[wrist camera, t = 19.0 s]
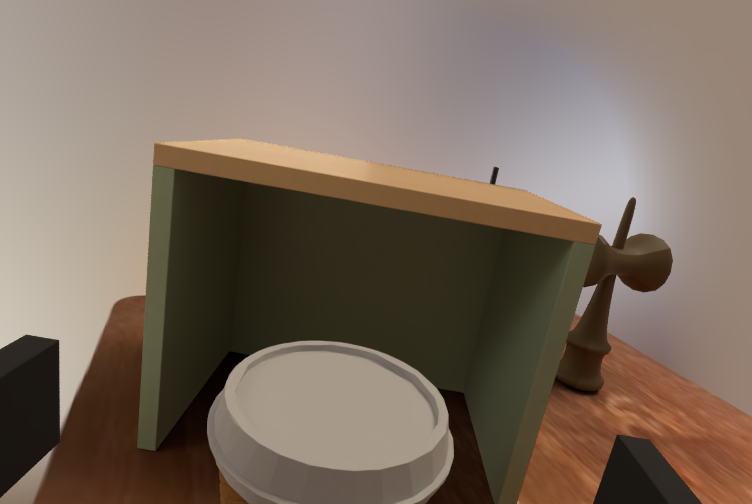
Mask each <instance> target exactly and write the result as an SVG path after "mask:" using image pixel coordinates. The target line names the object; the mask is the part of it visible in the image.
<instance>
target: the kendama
mask: <svg viewBox="0 0 752 504" xmlns="http://www.w3.org/2000/svg"><path fill="white" fill-rule="evenodd" d="M635 205H636V199H635V198H634V197H633V198H631V199H630V200H629V202H628V204H627V206H626V209H625V211H624V214H623V217H622V220H621V222H620V225H619V228H618V231H617V234H616V237H615V239H614V242H613V245H612V246H610V245H609V244H608V243H607V241H606V240H605V239H604V238H603V237H602V236H601V235H598V239H597V242H596V245H595V248H594V252H593V255H592V258H591V262H590V265H589V268H588V271H587V275H586V278H585V281H584V285H583V287H588V286H593V285H596V284H597V283H598V285H597V287H596V289H595V291H594V294H593V296H592V298H591V300H590V302H589V304H588V306H587V308H586V310H585V312H584V314H583V316H582V318H581V319H580V321H579V323H578V324H577V326H576V327H575V328H574V330H572V331H570V332H569V334H568V337H567V340H566V343H567V346H566V350H565V353H564V355H563V358H562V359H561V360H560V363H559V366H558V370H557V373H556V376H555V377H556V378H558V379H559V380H560V381H561V382H563V383H565V384H566V385H569V386H571V387H573V388H576V389H580V390H584V391H595V390H599V389H601V388H602V386H603V384H604V381H603V379H602V377H601V374H600V369H601V363H602V359H603V357H604V356H605V355H606V354H608V353H609V352H610V350H611V346H610V345H609V343H608V341H607V324H608V316H609V309H610V303H611V298H612V293H613V288H614V283H615V279H616V275H618V277H619V278H620V279H621V281H622V282H623V283H624V284H625V285H627V286H628V287H630V288H631V289H633V290H636V291H641V292H649V291H655V290H657V289H658V288H659V287H661V286H662V285H663V284H664V283H665V282H666V280H667V278H668V276H669V275H670V272H671V267H672V262H673V260H672V254H671V249H670V248H669V247H668V245H667V244H666V243H665V242H664V240H662V239H660V238H658V237H656V236H654V235H650V234H637V235H634V236H631V237H629V238H628V239H627V240H626V238H627V235H628V232H629V228H630V224H631V221H632V217H633V213H634V209H635Z"/></svg>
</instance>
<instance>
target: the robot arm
mask: <svg viewBox="0 0 752 504" xmlns="http://www.w3.org/2000/svg"><path fill="white" fill-rule="evenodd" d="M59 402H60V399H59V340H55V339H49V338H43V337H37V336H31V335H25V336H23V337H21V338H19V339H18V340H16V341H14V342H12V343H10V344H9V345H7V346H5V347H3V348H2V349H0V498H1V497H2V496H3V495H4V494H5V493H6V492H7V491H8V490H9V489H10V488H11V487H12V486H13V485H14V484H15V483H17V482H18V481H19V480H20V479H21V478H22V477H23V476H24V475H25V474H26V473H27V472H28V471H29V470H30V469H31V468H32V467H34V466H35V465H36V464H37V463H38V462H39V461H40V460H41V459H42V458H43V457H44V456H45V455H46V454H47V453H48V452H49V451H51V450H52V449H53V448H54V447H55V446H56V445H57V444H58V443H59V442H60V414H59V413H60V409H59V408H60V404H59ZM593 504H702V503H701V502H700V500H699V499H698V498H697V497H696V496H695V494H694V493H693V492H692V491H691V490H690V488H689V487H688V486H687V485H686V484H685V482H684V481H683V480H682V479H681V477H680V476H679V475H678V474H677V473H676V471H675V470H674V469H673V468H672V467H671V465H670V464H669V463H668V462H667V460H666V459H665V458H664V457H663V456H662V454H661V453H660V452H659V451H658V450H657V448H656V447H655V446H654V445H653V444H652V442H651V441H650V440H647V439H641V438H636V437H630V436H624V435H618V434H617V437H616V440H615V442H614V445H613V448H612V451H611V454H610V457H609V460H608V463H607V465H606V468H605V471H604V474H603V477H602V480H601V483H600V485H599V488H598V491H597V494H596V497H595V500H594V503H593Z"/></svg>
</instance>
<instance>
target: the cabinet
mask: <svg viewBox="0 0 752 504" xmlns="http://www.w3.org/2000/svg"><path fill="white" fill-rule="evenodd" d="M153 165H154V166H153V177H152V195H151V212H150V231H149V248H148V266H147V283H146V301H145V319H144V337H143V354H142V372H141V390H140V407H139V425H138V443H137V448H140V449H145V450H151V451H156V450H157V448H158V447H159V446H160V444H161V443H162V442H163V440H164V439H165V438H166V436H167V435H168V433H169V432H170V431H171V429H172V428H173V427H174V425H175V424H176V423H177V421H178V420H179V419H180V417H181V416H182V415H183V413H184V412H185V410H186V409H187V408H188V406H189V405H190V404H191V402H192V401H193V400H194V398H195V397H196V396H197V394H198V393H199V392H200V390H201V389H202V387H203V386H204V385H205V383H206V382H207V381H208V379H209V378H210V377H211V375H212V374H213V373H214V371H215V370H216V369H217V367H218V366H219V365H220V363H221V362H222V360H223V359H224V358H225V356H226V355H227V354H228V352H229V351H230V352H236V353H241V354H247V355H252V354H254V353H256V352H258V351H260V350H263V349H265V348H268V347H271V346H275V345H279V344H284V343H291V342H298V341H330V342H342V343H347V344H352V345H357V346H362V347H366V348H369V349H373V350H376V351H379V352H382V353H385V354H387V355H389V356H392V357H394V358H396V359H398V360H400V361H402V362H404V363H406V364H407V365H409V366H411V367H412V368H414V369H416V370H417V371H418V372H420V373H421V374H422V375H423V376H424V377H425V378H426V379H427V380H428V381H429V382H430V383H432V384H433V385H434V386H435V387H436V388H439V389H445V390H450V391H456V392H462V393H464V396H465V400H466V403H467V407H468V411H469V414H470V418H471V422H472V425H473V429H474V433H475V436H476V440H477V443H478V447H479V451H480V454H481V458H482V462H483V465H484V469H485V473H486V476H487V480H488V484H489V487H490V491H491V494H492V498H493V502H494V504H517V501H518V498H519V494H520V491H521V488H522V485H523V481H524V478H525V475H526V471H527V468H528V465H529V462H530V458H531V455H532V452H533V448H534V445H535V442H536V439H537V435H538V432H539V429H540V426H541V422H542V419H543V416H544V412H545V409H546V406H547V403H548V399H549V396H550V393H551V389H552V386H553V383H554V380H555V376H556V373H557V370H558V366H559V363H560V360H561V357H562V353H563V350H564V347H565V344H566V340H567V337H568V334H569V330H570V327H571V324H572V321H573V317H574V314H575V311H576V307H577V304H578V301H579V298H580V294H581V291H582V288H583V285H584V281H585V278H586V275H587V271H588V268H589V265H590V262H591V258H592V255H593V252H594V248H595V245H596V242H597V239H598V235H599V232H600V229H601V224H600V223H598V222H596V221H593V220H591V219H589V218H586V217H584V216H582V215H580V214H577V213H575V212H573V211H570V210H568V209H566V208H564V207H562V206H559V205H557V204H555V203H553V202H550V201H548V200H546V199H544V198H541V197H539V196H537V195H535V194H532V193H530V192H528V191H525V190H521V189H516V188H510V187H505V186H499V185H494V184H488V183H482V182H478V181H471V180H467V179H461V178H456V177H450V176H445V175H439V174H434V173H428V172H423V171H417V170H412V169H406V168H401V167H395V166H390V165H384V164H378V163H373V162H368V161H362V160H357V159H352V158H346V157H341V156H335V155H330V154H324V153H319V152H313V151H308V150H302V149H297V148H291V147H286V146H280V145H275V144H270V143H264V142H259V141H253V140H248V139H224V140H204V141H203V140H202V141H182V142H162V143H155V144H154V160H153Z"/></svg>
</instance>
